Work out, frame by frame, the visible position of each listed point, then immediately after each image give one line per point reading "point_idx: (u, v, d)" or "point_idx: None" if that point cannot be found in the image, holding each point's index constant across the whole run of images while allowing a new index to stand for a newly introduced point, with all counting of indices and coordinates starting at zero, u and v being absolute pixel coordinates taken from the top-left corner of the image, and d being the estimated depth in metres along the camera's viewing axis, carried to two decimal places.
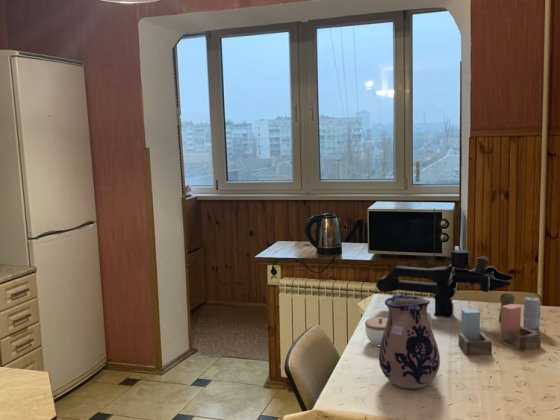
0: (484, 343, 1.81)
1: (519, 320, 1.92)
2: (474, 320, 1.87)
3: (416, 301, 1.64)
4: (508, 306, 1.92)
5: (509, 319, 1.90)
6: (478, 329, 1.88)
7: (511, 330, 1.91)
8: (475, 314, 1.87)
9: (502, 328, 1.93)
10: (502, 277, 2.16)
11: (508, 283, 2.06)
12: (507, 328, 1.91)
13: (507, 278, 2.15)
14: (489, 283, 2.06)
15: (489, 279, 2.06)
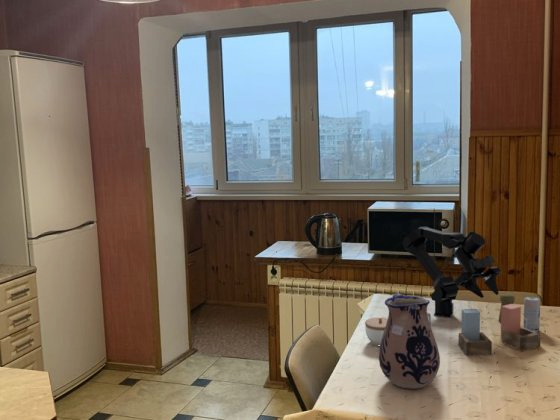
0: (484, 343, 1.81)
1: (519, 320, 1.92)
2: (474, 320, 1.87)
3: (416, 301, 1.64)
4: (508, 306, 1.92)
5: (509, 319, 1.90)
6: (478, 329, 1.88)
7: (511, 330, 1.91)
8: (475, 314, 1.87)
9: (502, 328, 1.93)
10: (491, 286, 2.05)
11: (481, 296, 1.99)
12: (507, 328, 1.91)
13: (493, 290, 2.03)
14: (466, 282, 2.01)
15: (468, 280, 2.00)
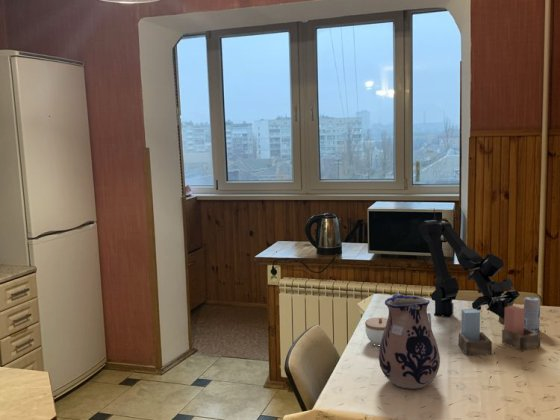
0: (484, 343, 1.81)
1: (522, 321, 1.91)
2: (474, 320, 1.87)
3: (416, 301, 1.64)
4: (511, 307, 1.91)
5: (512, 320, 1.89)
6: (478, 329, 1.88)
7: (514, 331, 1.89)
8: (475, 314, 1.87)
9: (505, 329, 1.92)
10: None
11: None
12: (510, 329, 1.90)
13: None
14: (491, 305, 1.96)
15: (493, 302, 1.95)
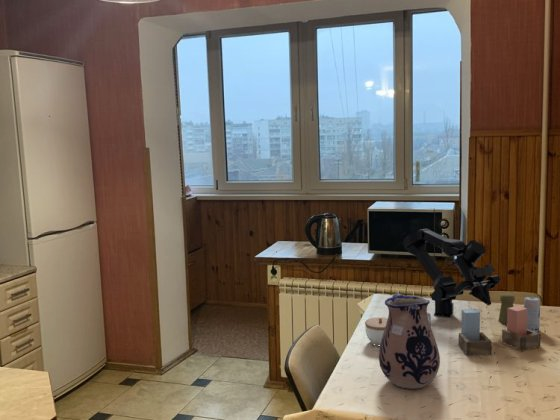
0: (484, 343, 1.81)
1: (525, 322, 1.89)
2: (474, 320, 1.87)
3: (416, 301, 1.64)
4: (514, 308, 1.90)
5: (515, 321, 1.88)
6: (478, 329, 1.88)
7: (517, 332, 1.88)
8: (475, 314, 1.87)
9: (508, 330, 1.91)
10: None
11: (487, 303, 2.01)
12: (513, 330, 1.89)
13: None
14: (472, 289, 2.03)
15: (475, 287, 2.02)
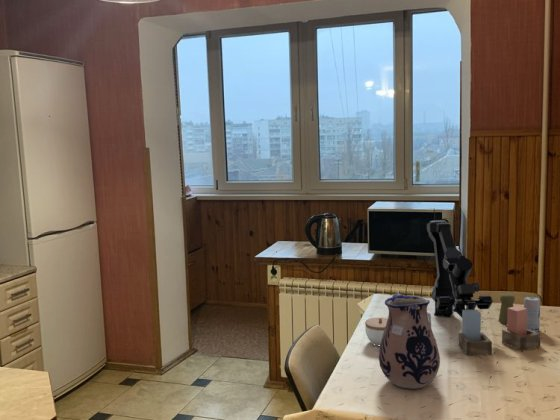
0: (484, 343, 1.81)
1: (525, 322, 1.89)
2: (475, 321, 1.87)
3: (416, 301, 1.64)
4: (514, 308, 1.90)
5: (515, 321, 1.88)
6: (479, 330, 1.87)
7: (517, 332, 1.88)
8: (476, 314, 1.86)
9: (508, 330, 1.91)
10: None
11: None
12: (513, 330, 1.89)
13: None
14: (454, 306, 1.95)
15: (455, 304, 1.94)
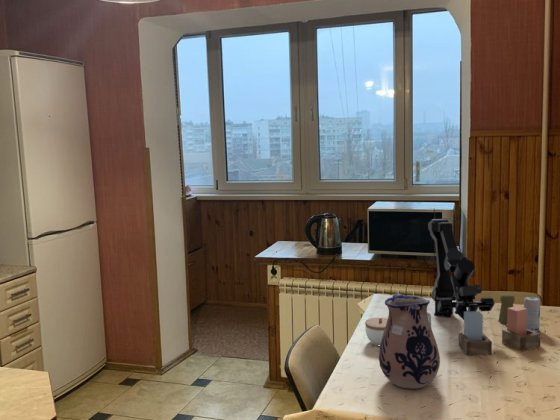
0: (484, 343, 1.81)
1: (525, 322, 1.89)
2: (477, 323, 1.85)
3: (416, 301, 1.64)
4: (514, 308, 1.90)
5: (515, 321, 1.88)
6: (481, 332, 1.85)
7: (517, 332, 1.88)
8: (478, 316, 1.84)
9: (508, 330, 1.91)
10: None
11: None
12: (513, 330, 1.89)
13: None
14: (456, 308, 1.94)
15: (457, 306, 1.92)
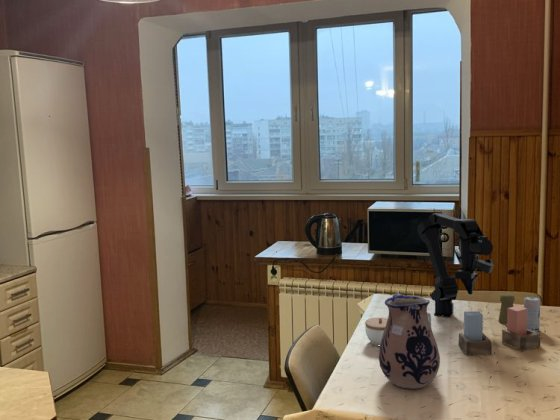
0: (484, 343, 1.81)
1: (525, 322, 1.89)
2: (477, 323, 1.85)
3: (416, 301, 1.64)
4: (514, 308, 1.90)
5: (515, 321, 1.88)
6: (481, 332, 1.85)
7: (517, 332, 1.88)
8: (478, 316, 1.84)
9: (508, 330, 1.91)
10: None
11: (470, 292, 2.06)
12: (513, 330, 1.89)
13: None
14: None
15: None
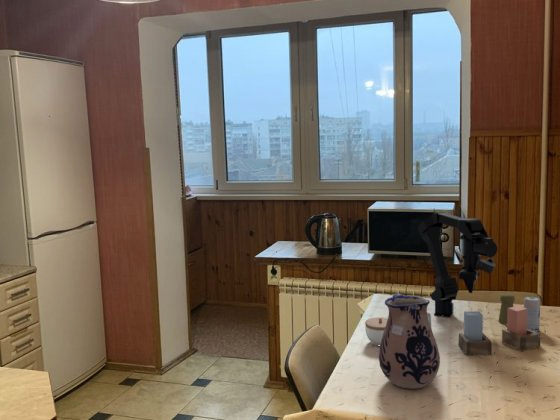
0: (484, 343, 1.81)
1: (525, 322, 1.89)
2: (477, 323, 1.85)
3: (416, 301, 1.64)
4: (514, 308, 1.90)
5: (515, 321, 1.88)
6: (481, 332, 1.85)
7: (517, 332, 1.88)
8: (478, 316, 1.84)
9: (508, 330, 1.91)
10: None
11: (470, 291, 2.07)
12: (513, 330, 1.89)
13: None
14: None
15: None
